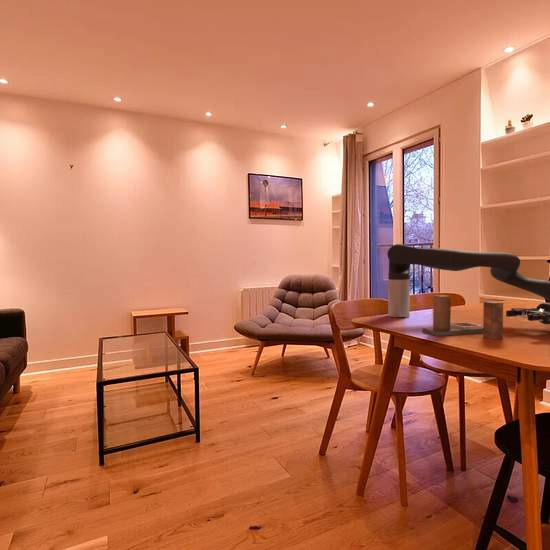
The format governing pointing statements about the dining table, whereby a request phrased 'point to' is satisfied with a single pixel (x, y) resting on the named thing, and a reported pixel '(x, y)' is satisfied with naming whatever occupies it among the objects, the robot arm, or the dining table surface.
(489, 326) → the wooden post
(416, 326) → the dining table surface
